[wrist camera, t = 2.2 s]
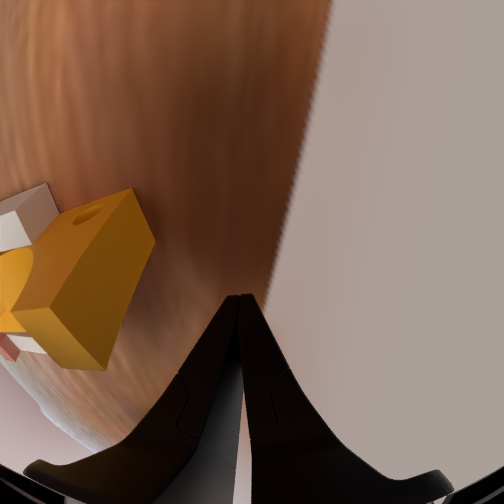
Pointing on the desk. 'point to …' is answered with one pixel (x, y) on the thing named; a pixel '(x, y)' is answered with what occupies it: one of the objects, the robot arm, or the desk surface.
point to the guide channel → (19, 235)
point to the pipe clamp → (77, 280)
